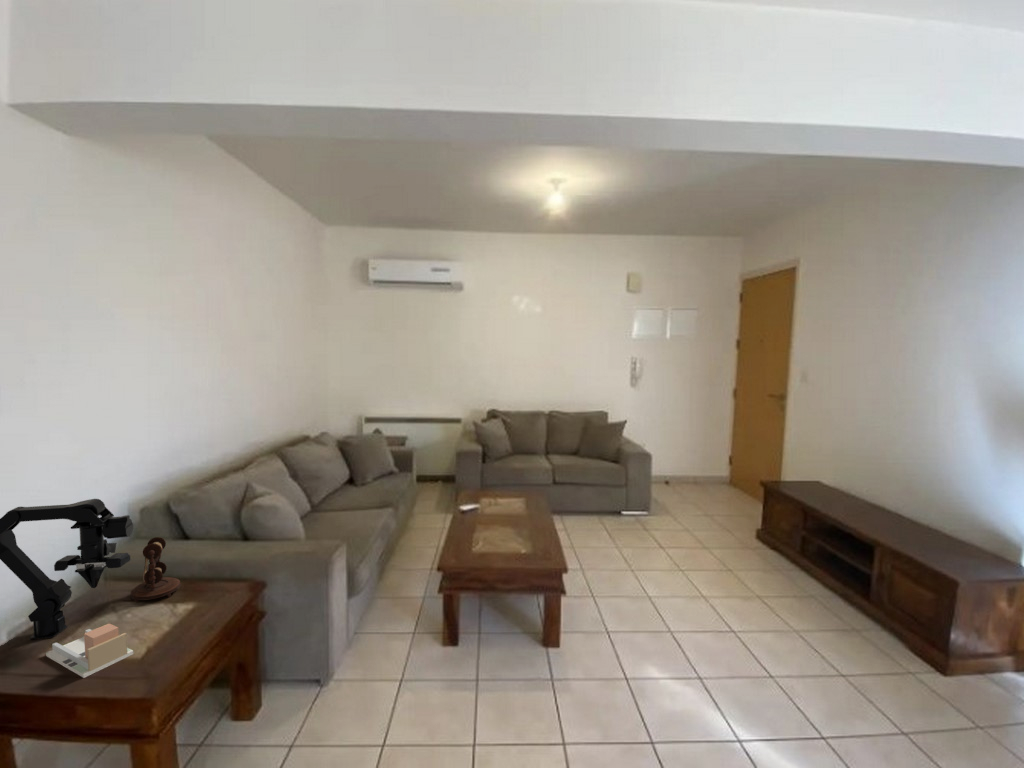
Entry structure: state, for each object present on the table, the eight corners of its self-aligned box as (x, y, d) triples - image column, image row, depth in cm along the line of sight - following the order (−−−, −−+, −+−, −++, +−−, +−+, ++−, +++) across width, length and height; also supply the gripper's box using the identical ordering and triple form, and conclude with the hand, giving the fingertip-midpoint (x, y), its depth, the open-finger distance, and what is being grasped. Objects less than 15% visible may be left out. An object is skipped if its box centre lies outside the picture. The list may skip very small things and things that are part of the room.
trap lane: (46, 656, 144) (44, 632, 144) (95, 635, 155) (94, 613, 154) (83, 677, 135) (82, 653, 134) (133, 654, 146) (132, 631, 145)
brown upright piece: (136, 588, 185) (134, 536, 184) (183, 581, 191) (181, 530, 190) (125, 607, 172) (123, 551, 170) (176, 599, 178) (174, 544, 176)
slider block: (85, 660, 140) (84, 633, 140) (110, 649, 145) (109, 623, 145) (94, 666, 138) (93, 638, 137) (119, 654, 143) (118, 627, 143)
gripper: (139, 529, 167) (141, 574, 168) (77, 532, 164) (79, 577, 165) (118, 542, 156) (120, 590, 157) (51, 545, 153) (54, 594, 154)
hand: (94, 587), depth 159 cm, fingers closed
